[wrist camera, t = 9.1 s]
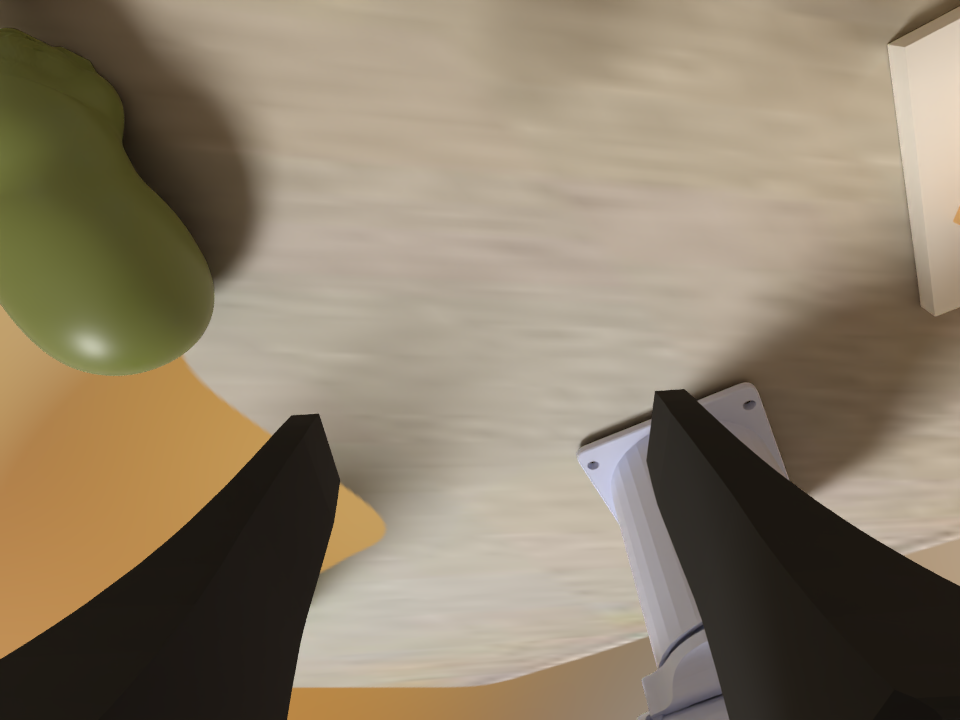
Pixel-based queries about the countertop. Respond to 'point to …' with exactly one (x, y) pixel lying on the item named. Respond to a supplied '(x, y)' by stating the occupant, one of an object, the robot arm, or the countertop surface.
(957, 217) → the cardboard-colored cube
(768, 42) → the countertop surface
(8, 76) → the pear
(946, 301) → the plate
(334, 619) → the countertop surface
